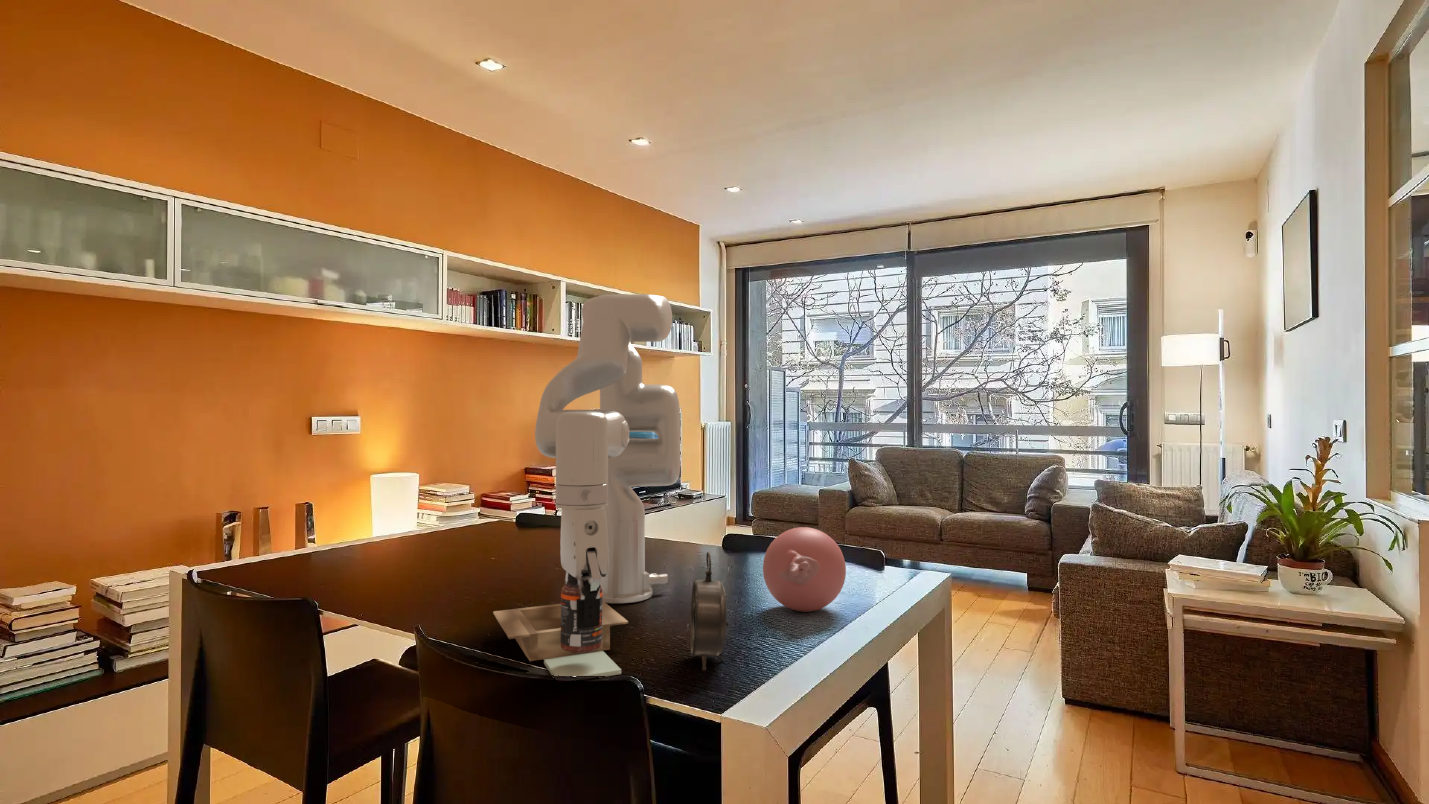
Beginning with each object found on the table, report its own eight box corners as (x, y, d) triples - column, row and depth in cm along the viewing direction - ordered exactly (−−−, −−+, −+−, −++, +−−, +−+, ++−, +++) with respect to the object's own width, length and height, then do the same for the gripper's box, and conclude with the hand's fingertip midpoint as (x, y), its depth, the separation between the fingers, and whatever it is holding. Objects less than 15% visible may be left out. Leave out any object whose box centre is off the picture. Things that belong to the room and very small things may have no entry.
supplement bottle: (582, 657, 102) (582, 575, 102) (551, 650, 105) (551, 571, 105) (610, 645, 107) (610, 568, 107) (580, 639, 110) (580, 563, 110)
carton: (600, 621, 130) (600, 599, 130) (628, 646, 116) (628, 621, 116) (493, 635, 122) (493, 611, 122) (509, 664, 108) (509, 637, 108)
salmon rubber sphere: (745, 624, 128) (745, 536, 128) (774, 596, 147) (774, 519, 147) (833, 633, 123) (832, 541, 123) (852, 603, 142) (851, 523, 142)
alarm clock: (689, 649, 115) (689, 545, 115) (723, 648, 115) (723, 545, 115) (693, 675, 104) (692, 560, 104) (731, 673, 104) (730, 559, 104)
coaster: (602, 654, 112) (602, 650, 112) (621, 673, 104) (621, 669, 104) (543, 663, 108) (543, 659, 108) (558, 684, 100) (558, 679, 100)
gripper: (625, 501, 100) (625, 633, 100) (590, 489, 116) (590, 603, 116) (571, 504, 97) (571, 641, 97) (543, 491, 113) (543, 609, 113)
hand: (581, 619), depth 106 cm, fingers closed on supplement bottle, 6 cm apart
